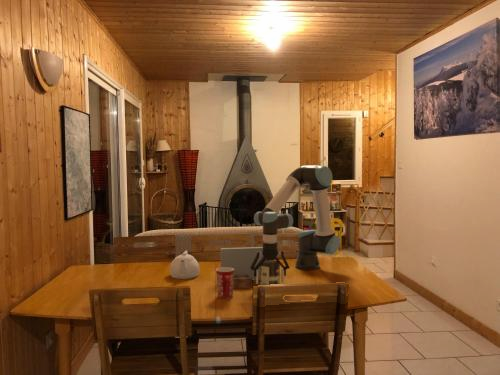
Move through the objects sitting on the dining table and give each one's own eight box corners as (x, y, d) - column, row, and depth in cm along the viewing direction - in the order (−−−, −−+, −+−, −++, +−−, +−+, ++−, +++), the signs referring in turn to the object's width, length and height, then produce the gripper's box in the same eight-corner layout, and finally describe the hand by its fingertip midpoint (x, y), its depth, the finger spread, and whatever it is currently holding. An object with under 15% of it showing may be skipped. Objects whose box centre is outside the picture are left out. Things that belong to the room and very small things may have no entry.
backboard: (266, 278, 245) (266, 246, 244) (267, 279, 243) (267, 247, 242) (220, 280, 241) (220, 248, 240) (221, 281, 239) (221, 249, 238)
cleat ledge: (248, 280, 242) (248, 271, 241) (251, 287, 228) (251, 278, 227) (223, 281, 240) (222, 272, 239) (225, 288, 226) (225, 279, 225)
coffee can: (281, 286, 229) (281, 260, 228) (278, 292, 219) (278, 265, 218) (261, 285, 231) (261, 259, 230) (258, 291, 221) (258, 264, 220)
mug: (214, 293, 217) (214, 267, 216) (232, 292, 219) (232, 266, 218) (218, 302, 205) (217, 274, 204) (236, 300, 206) (236, 273, 206)
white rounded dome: (207, 275, 252) (207, 252, 251) (182, 282, 238) (181, 257, 237) (187, 269, 264) (186, 247, 263) (162, 275, 251) (161, 252, 250)
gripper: (291, 240, 229) (291, 279, 230) (245, 241, 225) (245, 281, 227) (295, 242, 221) (295, 283, 223) (247, 244, 218) (247, 285, 219)
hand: (269, 282), depth 225 cm, fingers open, 13 cm apart
